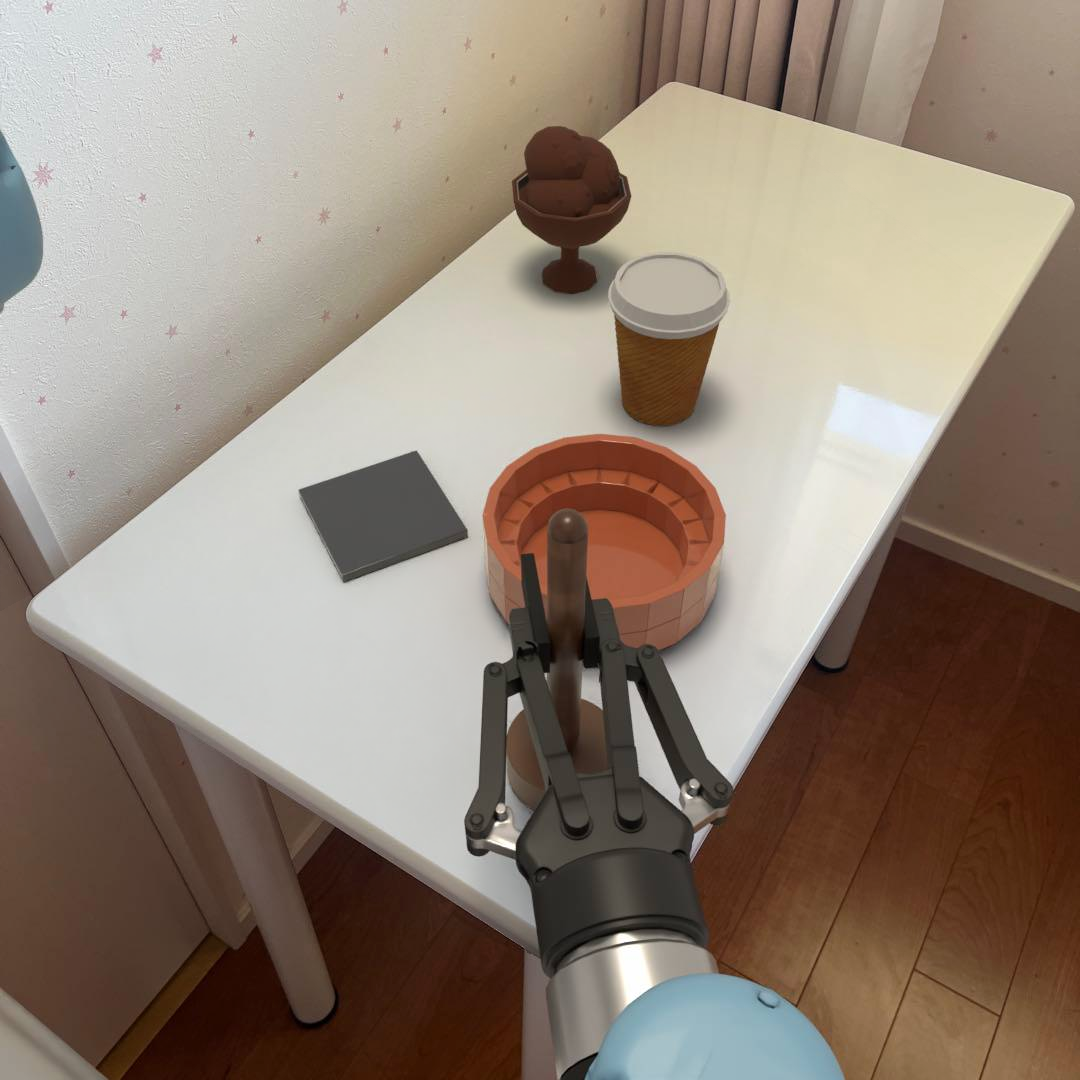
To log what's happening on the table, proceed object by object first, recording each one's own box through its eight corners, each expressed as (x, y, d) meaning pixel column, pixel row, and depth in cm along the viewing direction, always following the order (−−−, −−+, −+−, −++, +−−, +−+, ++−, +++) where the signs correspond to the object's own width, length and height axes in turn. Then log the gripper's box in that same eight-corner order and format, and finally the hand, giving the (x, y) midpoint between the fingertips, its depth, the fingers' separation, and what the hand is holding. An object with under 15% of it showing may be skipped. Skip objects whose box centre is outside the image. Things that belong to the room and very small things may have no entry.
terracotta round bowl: (552, 703, 73) (552, 643, 68) (451, 540, 83) (445, 477, 79) (759, 614, 78) (773, 553, 74) (640, 471, 88) (646, 408, 84)
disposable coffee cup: (720, 439, 91) (739, 318, 82) (604, 439, 91) (611, 318, 82) (708, 367, 97) (724, 248, 89) (600, 367, 98) (606, 248, 89)
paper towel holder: (538, 836, 67) (535, 589, 50) (488, 747, 71) (471, 492, 54) (638, 789, 69) (668, 537, 52) (584, 706, 73) (596, 448, 56)
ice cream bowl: (565, 324, 102) (567, 174, 91) (491, 272, 108) (484, 125, 97) (648, 282, 106) (660, 134, 95) (573, 234, 112) (576, 89, 101)
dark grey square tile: (343, 582, 80) (342, 575, 80) (299, 496, 87) (297, 489, 86) (468, 536, 84) (467, 529, 83) (417, 457, 90) (416, 449, 89)
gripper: (461, 1021, 50) (426, 621, 66) (781, 975, 52) (671, 594, 68) (451, 954, 45) (415, 535, 61) (809, 905, 46) (683, 508, 62)
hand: (550, 567), depth 64 cm, fingers closed on paper towel holder, 2 cm apart
